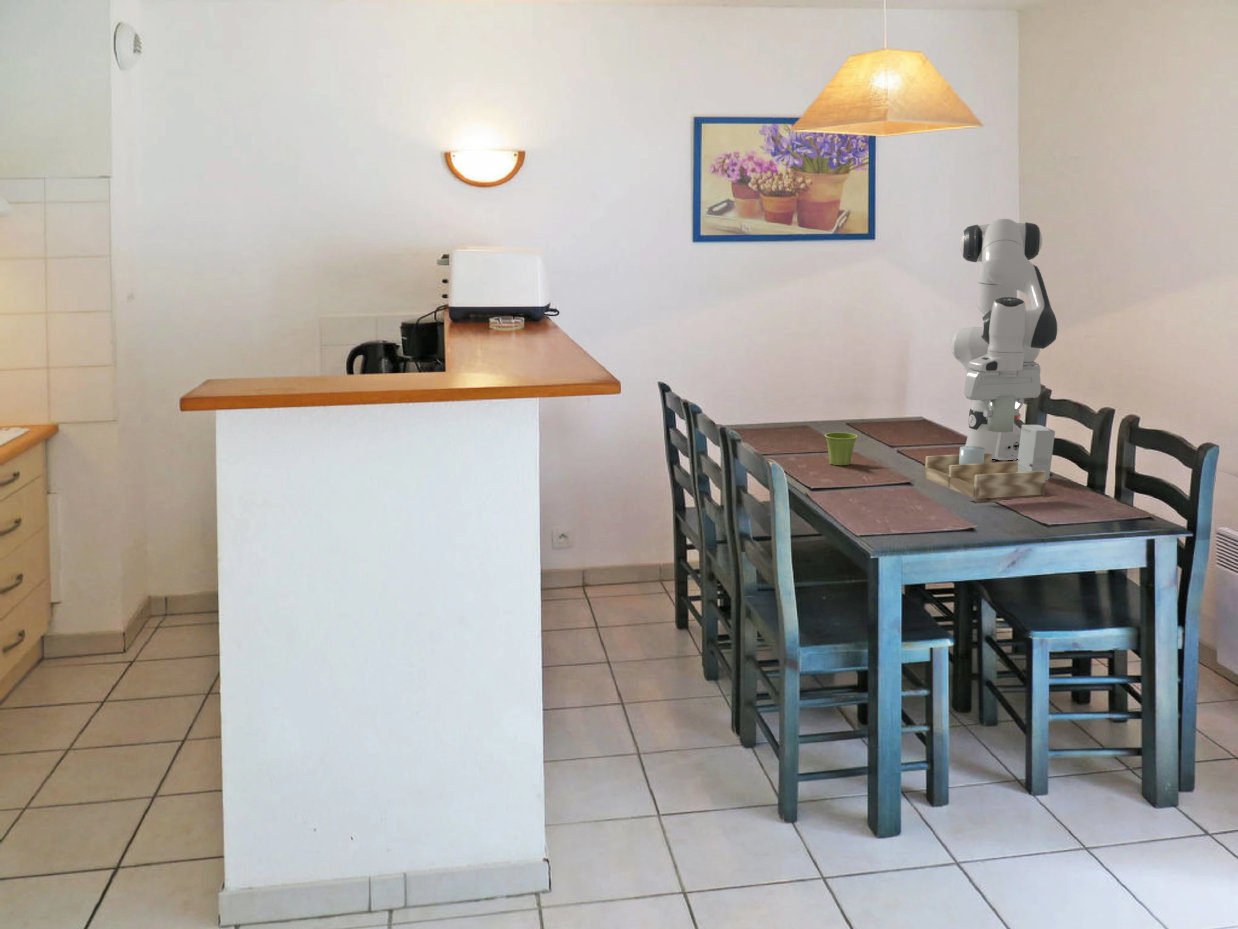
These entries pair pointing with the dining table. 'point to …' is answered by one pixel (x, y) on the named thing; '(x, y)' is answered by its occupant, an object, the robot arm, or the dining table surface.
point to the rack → (984, 478)
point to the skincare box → (1035, 449)
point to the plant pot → (840, 447)
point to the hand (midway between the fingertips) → (1001, 416)
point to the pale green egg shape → (1002, 414)
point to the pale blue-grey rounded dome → (971, 455)
